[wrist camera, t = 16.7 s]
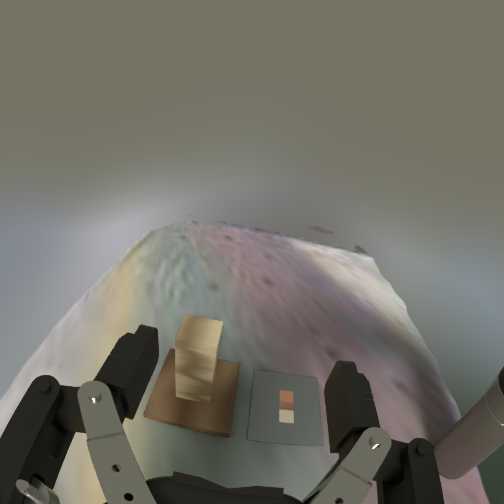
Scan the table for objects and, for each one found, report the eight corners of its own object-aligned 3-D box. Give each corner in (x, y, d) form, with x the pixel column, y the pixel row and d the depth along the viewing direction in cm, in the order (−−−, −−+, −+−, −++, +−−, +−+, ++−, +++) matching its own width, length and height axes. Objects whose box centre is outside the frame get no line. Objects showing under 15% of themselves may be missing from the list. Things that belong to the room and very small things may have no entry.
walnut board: (239, 367, 46) (240, 363, 46) (228, 437, 34) (229, 433, 33) (170, 352, 46) (170, 348, 46) (144, 417, 34) (143, 413, 33)
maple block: (215, 379, 42) (223, 321, 37) (209, 404, 37) (217, 347, 32) (183, 372, 42) (185, 313, 37) (175, 396, 37) (175, 338, 32)
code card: (316, 378, 46) (316, 377, 46) (323, 445, 34) (323, 445, 34) (254, 369, 46) (254, 369, 46) (246, 439, 34) (247, 439, 34)
